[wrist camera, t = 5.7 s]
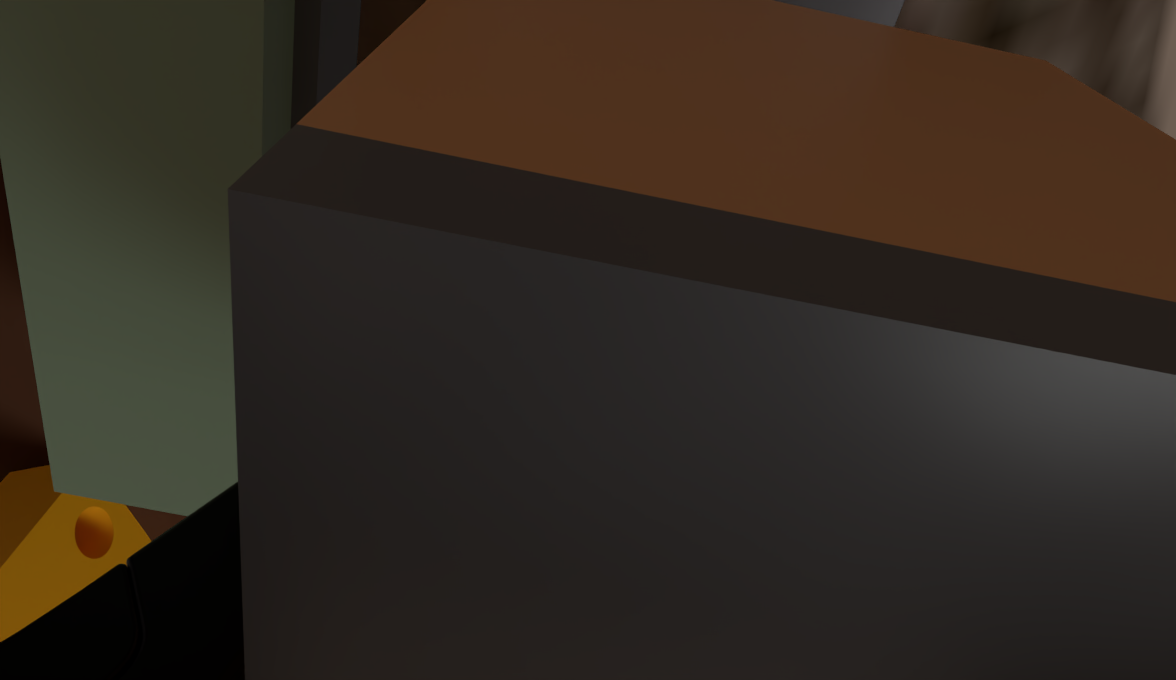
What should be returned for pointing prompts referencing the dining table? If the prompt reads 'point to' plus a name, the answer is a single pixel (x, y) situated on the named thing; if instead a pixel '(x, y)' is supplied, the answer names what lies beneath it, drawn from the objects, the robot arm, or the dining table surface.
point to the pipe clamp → (55, 545)
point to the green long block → (145, 217)
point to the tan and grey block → (705, 358)
